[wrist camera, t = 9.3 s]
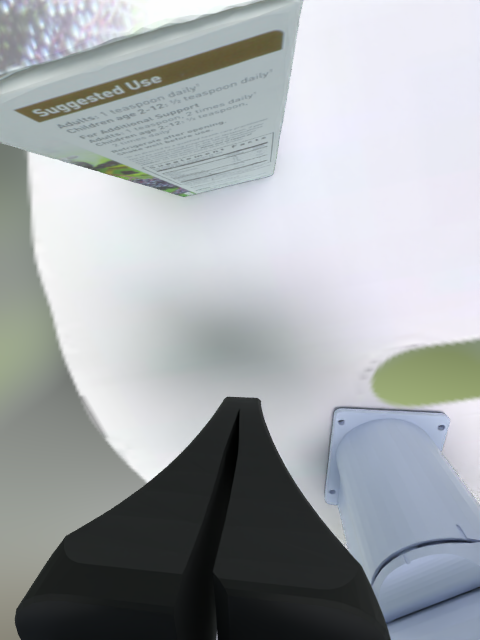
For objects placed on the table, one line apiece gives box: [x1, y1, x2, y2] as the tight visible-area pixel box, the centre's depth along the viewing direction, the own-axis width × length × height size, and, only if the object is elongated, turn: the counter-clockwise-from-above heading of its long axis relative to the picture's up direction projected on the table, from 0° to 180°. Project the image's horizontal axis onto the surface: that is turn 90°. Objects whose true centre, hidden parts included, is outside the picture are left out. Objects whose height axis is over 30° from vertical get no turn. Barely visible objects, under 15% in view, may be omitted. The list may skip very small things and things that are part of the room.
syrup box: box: [0, 0, 303, 197], centre depth 9 cm, size 6×6×14 cm
